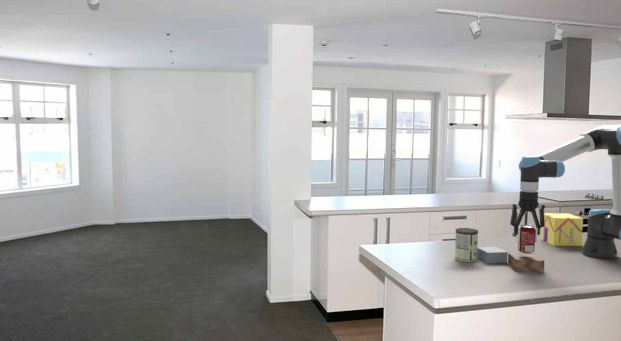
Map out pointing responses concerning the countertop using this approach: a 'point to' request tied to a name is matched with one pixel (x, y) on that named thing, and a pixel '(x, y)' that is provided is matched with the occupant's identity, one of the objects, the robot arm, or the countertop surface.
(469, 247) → the coffee can
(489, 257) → the slate-grey block
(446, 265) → the countertop surface
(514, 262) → the walnut block
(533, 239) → the soda can
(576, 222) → the toy block
